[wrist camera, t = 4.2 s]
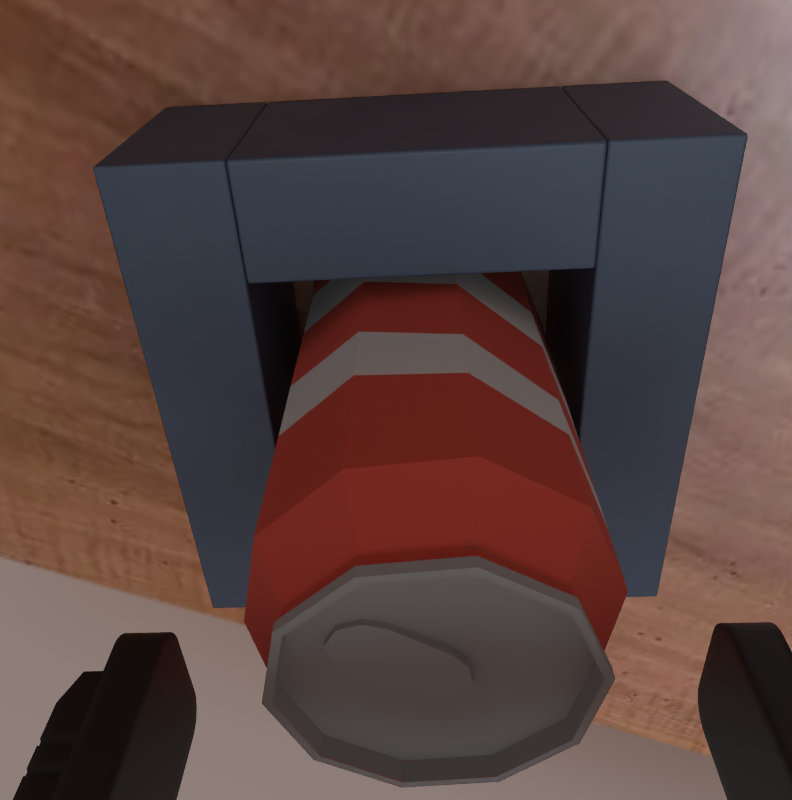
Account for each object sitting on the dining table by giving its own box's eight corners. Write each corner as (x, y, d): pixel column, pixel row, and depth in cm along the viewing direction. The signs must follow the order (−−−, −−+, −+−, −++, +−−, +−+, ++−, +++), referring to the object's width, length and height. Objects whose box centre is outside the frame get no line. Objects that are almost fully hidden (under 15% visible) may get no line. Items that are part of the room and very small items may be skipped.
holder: (245, 490, 25) (212, 609, 20) (164, 107, 18) (90, 167, 14) (614, 477, 24) (657, 596, 20) (668, 80, 18) (749, 133, 13)
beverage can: (371, 169, 19) (330, 467, 9) (578, 283, 20) (744, 643, 10) (274, 353, 22) (161, 733, 12) (462, 440, 23) (503, 839, 13)
